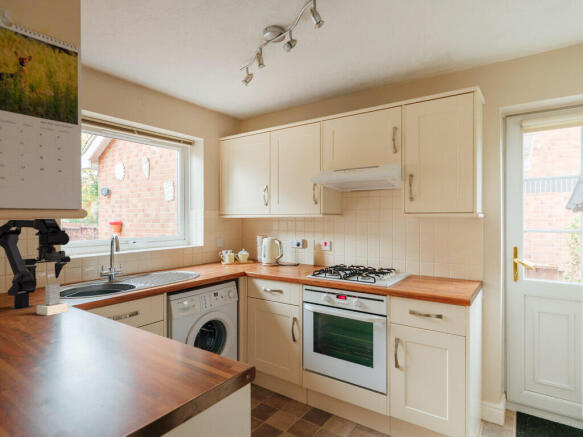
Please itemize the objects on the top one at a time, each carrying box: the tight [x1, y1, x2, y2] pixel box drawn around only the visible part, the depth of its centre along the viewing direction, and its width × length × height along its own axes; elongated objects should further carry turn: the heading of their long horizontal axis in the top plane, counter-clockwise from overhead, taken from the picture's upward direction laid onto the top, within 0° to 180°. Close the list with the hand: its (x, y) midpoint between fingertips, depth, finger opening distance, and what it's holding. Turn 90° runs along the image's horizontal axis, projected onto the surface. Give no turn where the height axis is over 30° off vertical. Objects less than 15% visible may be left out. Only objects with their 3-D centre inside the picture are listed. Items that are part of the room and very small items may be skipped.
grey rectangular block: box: [44, 283, 61, 306], centre depth 144 cm, size 4×4×12 cm
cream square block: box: [36, 301, 69, 316], centre depth 143 cm, size 8×8×4 cm
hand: (45, 279), depth 153 cm, fingers open, 9 cm apart
